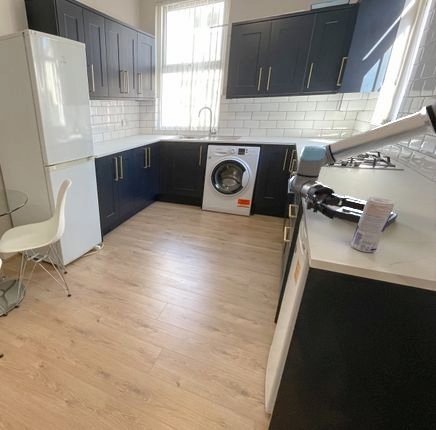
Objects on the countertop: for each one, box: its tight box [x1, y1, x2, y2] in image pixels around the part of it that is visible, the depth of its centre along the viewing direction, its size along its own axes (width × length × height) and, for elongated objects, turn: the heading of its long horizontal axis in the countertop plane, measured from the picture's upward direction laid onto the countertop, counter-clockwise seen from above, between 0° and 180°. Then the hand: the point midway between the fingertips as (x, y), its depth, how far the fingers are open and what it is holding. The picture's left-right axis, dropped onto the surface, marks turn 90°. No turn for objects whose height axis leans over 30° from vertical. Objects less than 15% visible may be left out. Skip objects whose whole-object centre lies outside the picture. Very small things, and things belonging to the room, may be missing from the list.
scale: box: [334, 207, 399, 229], centre depth 101 cm, size 14×14×3 cm
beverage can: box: [350, 196, 396, 253], centre depth 78 cm, size 6×6×15 cm
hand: (357, 215), depth 83 cm, fingers open, 13 cm apart
